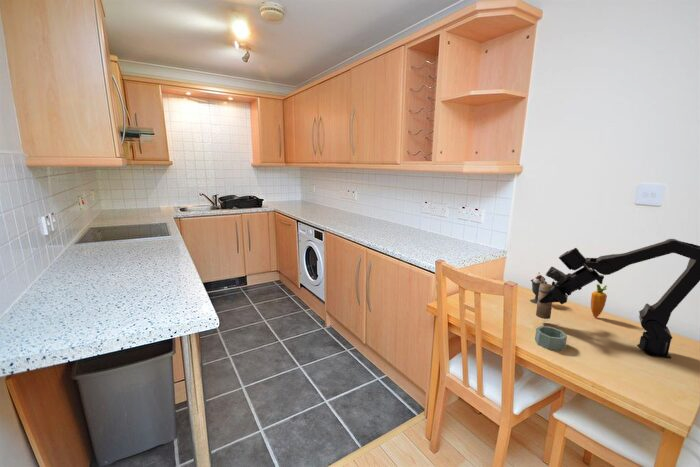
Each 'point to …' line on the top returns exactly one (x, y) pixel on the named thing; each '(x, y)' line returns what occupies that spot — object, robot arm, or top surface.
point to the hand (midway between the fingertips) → (541, 299)
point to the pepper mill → (543, 308)
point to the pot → (550, 338)
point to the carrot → (598, 301)
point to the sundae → (537, 287)
